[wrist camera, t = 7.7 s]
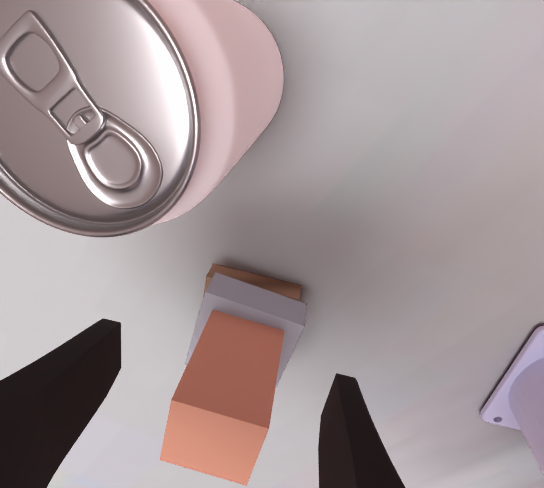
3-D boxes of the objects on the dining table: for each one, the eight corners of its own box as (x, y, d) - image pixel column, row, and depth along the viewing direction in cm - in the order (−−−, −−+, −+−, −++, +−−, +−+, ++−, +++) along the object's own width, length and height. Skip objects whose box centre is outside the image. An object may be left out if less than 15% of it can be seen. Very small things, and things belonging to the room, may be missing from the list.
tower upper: (306, 303, 22) (304, 326, 20) (276, 369, 24) (272, 394, 23) (215, 272, 22) (205, 291, 20) (195, 341, 24) (184, 364, 23)
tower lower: (302, 280, 24) (299, 299, 22) (283, 346, 26) (280, 367, 24) (215, 259, 24) (206, 276, 22) (205, 326, 26) (196, 346, 25)
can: (208, 168, 21) (76, 294, 10) (127, 57, 19) (-144, 67, 8) (311, 98, 18) (284, 163, 8) (231, -37, 16) (46, -203, 6)
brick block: (284, 330, 20) (268, 428, 15) (266, 382, 22) (246, 485, 17) (212, 309, 20) (171, 400, 15) (200, 362, 22) (159, 459, 17)
